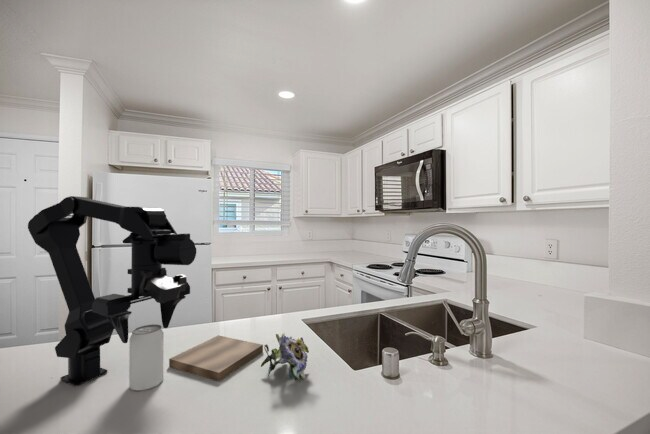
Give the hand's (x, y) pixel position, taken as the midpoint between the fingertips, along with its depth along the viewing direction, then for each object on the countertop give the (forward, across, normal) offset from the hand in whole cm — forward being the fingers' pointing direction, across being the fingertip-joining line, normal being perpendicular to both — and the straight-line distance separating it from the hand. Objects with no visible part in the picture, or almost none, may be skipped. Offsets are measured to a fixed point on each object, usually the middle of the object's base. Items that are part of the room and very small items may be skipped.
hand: (146, 334), depth 65 cm
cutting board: (+11, +15, -6) cm, 19 cm away
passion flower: (+11, +15, -26) cm, 32 cm away
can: (+11, 0, 0) cm, 11 cm away
